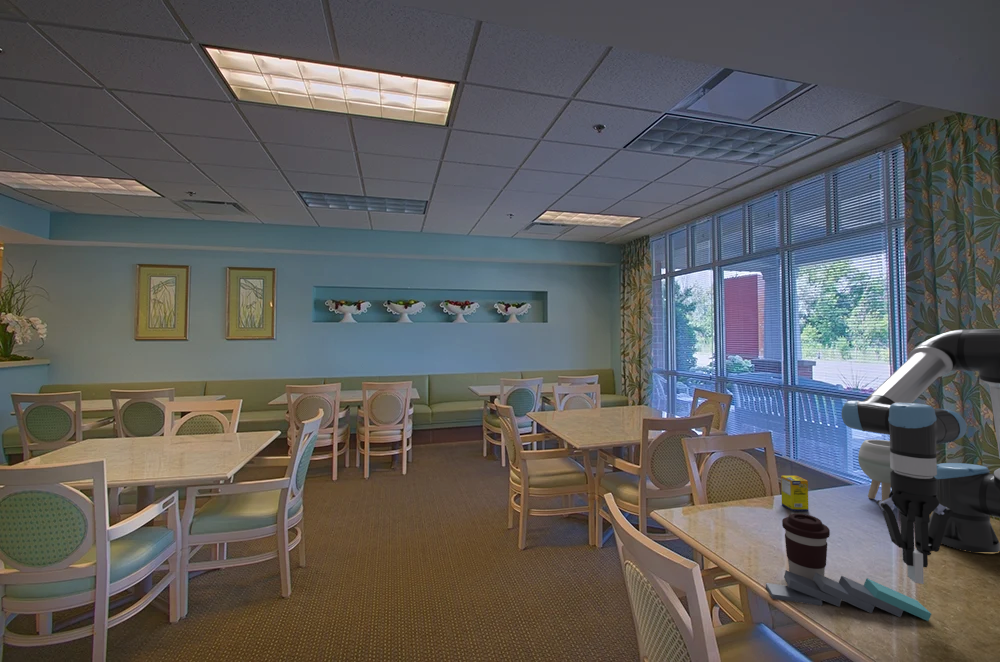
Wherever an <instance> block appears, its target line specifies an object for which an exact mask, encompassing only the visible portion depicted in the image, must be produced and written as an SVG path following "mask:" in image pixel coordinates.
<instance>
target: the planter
mask: <svg viewBox="0 0 1000 662" xmlns="http://www.w3.org/2000/svg"><path fill="white" fill-rule="evenodd" d="M857 456H858V457H857V458H858V465H859V468H860V469H861V471H862V472H863V473H864V474H865V475H866V476H867V477H868V478H869V480H871V482H870V486H869V491H868V494H867V498H868V499H872V500H875V499H876V497H877V494H878V491H879V489H880V487H881V489H880V490H881V501H884V500H886V499H888V498H889V494H890V493H891V478H890V472H892V471H893V470H892V469H891V468H890V440H888V439H887V440H885V439H865V440H863V442H862V443H861V445H860V447H859V450H858V455H857Z"/></svg>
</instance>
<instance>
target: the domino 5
mask: <svg viewBox="0 0 1000 662" xmlns="http://www.w3.org/2000/svg"><path fill="white" fill-rule="evenodd" d="M863 585H864V586H865V587H866V588H867V589H868V590H869V591H870V592H871V593H872V595H873V596H874V597H876V598H878V599H880V600H882V601H884V602H887V603H889V604H891V605H893V606H895V607H898V608H900V609H902V610H904V611H903V612H906V613H909V614H911V615H914V616H915V617H918V618H920V619H922V620H923V621H927V622H929V621H930V618H931V616H932V613H931V611H929V610H928V609H927V608H926V607H925V606H924V605H922V604H921V603H920V602H919V600H917V599H915V598H912V597H910V596H908V595H906V594H904V593H901V592H899V591H897V590H894V589H893V588H890V587H887V586H885V585H883V584H881V583H878V582H876V581H873V580H871V579H869V578H865V581H864V583H863Z"/></svg>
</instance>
